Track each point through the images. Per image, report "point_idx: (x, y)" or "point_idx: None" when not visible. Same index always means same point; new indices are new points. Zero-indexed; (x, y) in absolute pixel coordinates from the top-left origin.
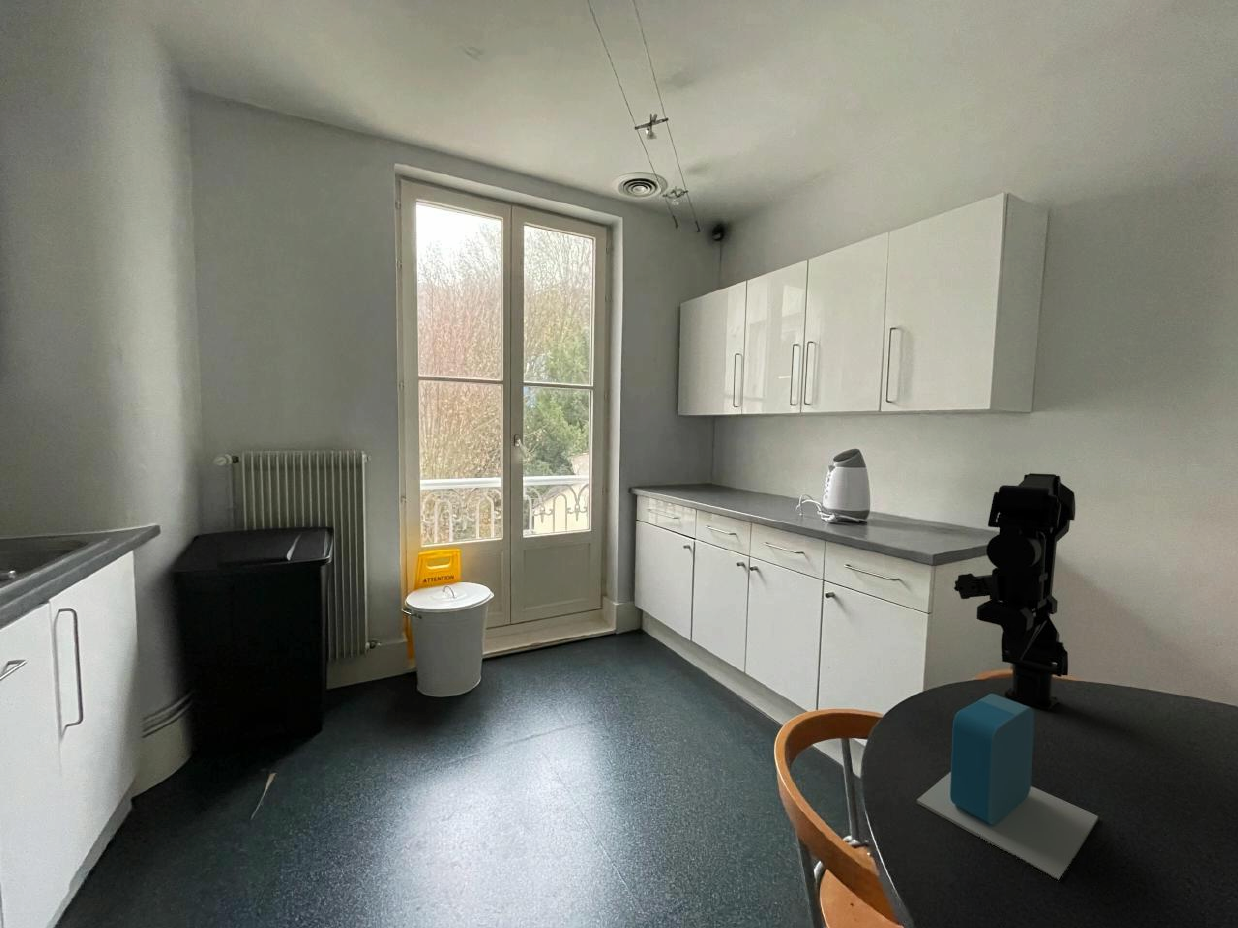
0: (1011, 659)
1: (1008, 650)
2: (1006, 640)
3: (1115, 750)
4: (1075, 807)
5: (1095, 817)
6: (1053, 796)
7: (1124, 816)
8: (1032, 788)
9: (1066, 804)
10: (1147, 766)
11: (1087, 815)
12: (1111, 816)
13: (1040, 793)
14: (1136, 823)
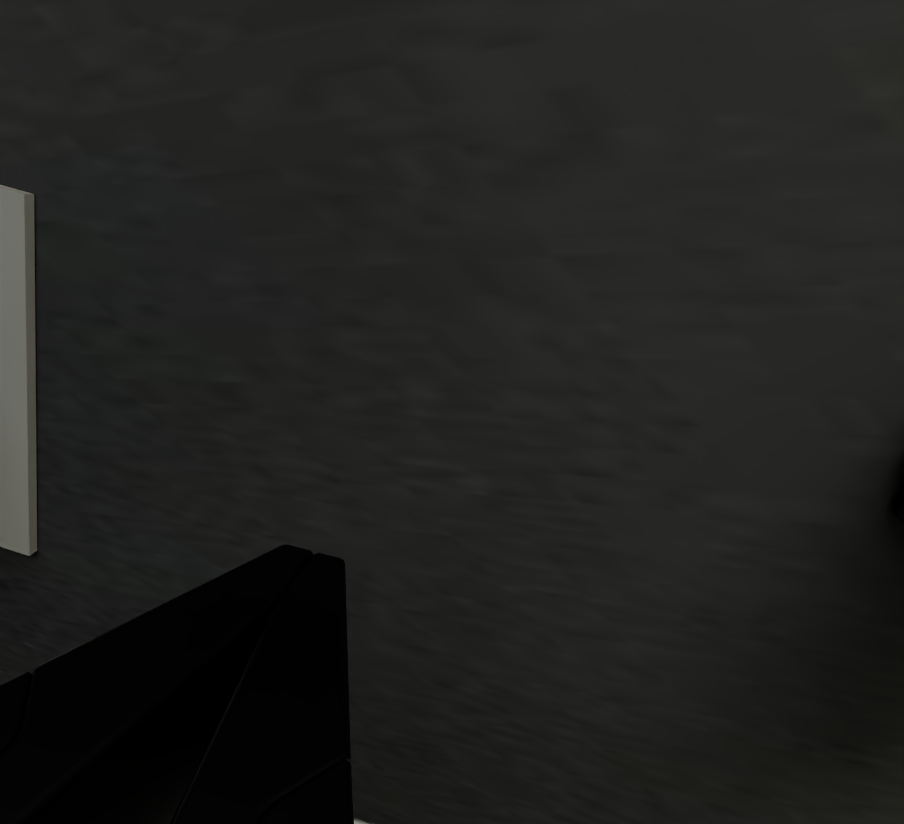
0: (280, 547)
1: (206, 583)
2: (41, 670)
3: (593, 680)
4: (20, 510)
5: (15, 548)
6: (28, 462)
7: (118, 610)
8: (13, 409)
9: (13, 490)
10: (525, 735)
11: (5, 532)
12: (87, 582)
13: (8, 429)
14: (107, 627)
